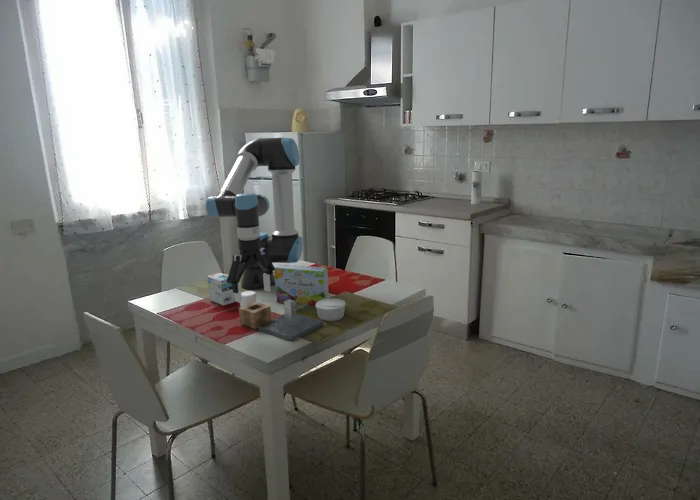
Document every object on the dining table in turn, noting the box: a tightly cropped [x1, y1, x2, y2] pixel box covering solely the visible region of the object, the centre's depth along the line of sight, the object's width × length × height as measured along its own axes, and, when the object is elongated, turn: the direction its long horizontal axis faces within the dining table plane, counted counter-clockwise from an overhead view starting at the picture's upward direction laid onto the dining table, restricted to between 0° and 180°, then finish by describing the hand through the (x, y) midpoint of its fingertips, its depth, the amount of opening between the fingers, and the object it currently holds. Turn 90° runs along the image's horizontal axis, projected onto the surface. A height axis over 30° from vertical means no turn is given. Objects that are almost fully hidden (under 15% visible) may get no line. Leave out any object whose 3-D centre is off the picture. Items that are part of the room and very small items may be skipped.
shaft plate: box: [258, 299, 324, 342], centre depth 168 cm, size 16×16×10 cm
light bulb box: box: [206, 272, 237, 307], centre depth 196 cm, size 11×7×11 cm, turn 47°
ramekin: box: [315, 297, 346, 322], centre depth 178 cm, size 11×11×5 cm
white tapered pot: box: [239, 290, 257, 308], centre depth 186 cm, size 7×7×7 cm
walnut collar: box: [238, 301, 273, 330], centre depth 173 cm, size 8×8×6 cm
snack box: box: [274, 263, 330, 307], centre depth 192 cm, size 21×6×15 cm, turn 72°
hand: (253, 296), depth 171 cm, fingers open, 13 cm apart
